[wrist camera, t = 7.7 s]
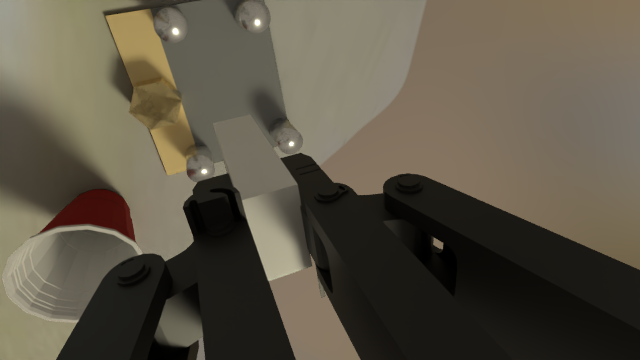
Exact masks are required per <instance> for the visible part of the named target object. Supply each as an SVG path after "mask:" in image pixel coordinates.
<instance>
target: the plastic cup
mask: <svg viewBox="0 0 640 360" xmlns="http://www.w3.org/2000/svg"><path fill="white" fill-rule="evenodd" d="M141 254H143V252H142V251H141V249H140V248H139V247H138V245H137V244H136V241H135V235H134V230H133V224H132V219H131V217H130V209H129V207H128V205H127V203H126V202H125V200H124V198H122V197H121V196H119V195H118V194H117V193H115V192H112V191H109V190H105V189H93V190H90V191H87V192H85V193H82V194H80V195H79V196H78V197H77V198H75V199H74V200H73V201H72V202H71V203H70V204H69V205H68V206H66V207H65V208H64V209H63V210H62V211H61V212H60V213H59V214H58V215H57V216H56V217H55V218H54V219H53V220H52V221H51V222H50V223H49V224H48V225H47V226H46V227H45V228H44V229H43V230H42V231H41V232H39V233H38V234H37V235H34V236H32V237H30V238H29V239H28V240H27V241H26V242H25V243H24V244H23V245H21V246H20V247H19V248H18V249H17V250H16V251H15V252H14V253H12V254H11V255H10V256H9V258H8V261H7V264H6V267H5V269H4V272H3V275H2V280H3V283H4V286H5V290H6V293H7V297H8V298H10V299H11V300H12V301H13V302H14V303H15V304H16V305H17V306H18V307H19V308H21V309H22V310H23V311H24V312H26V313H29V314H31V315H34V316H37V317H39V318H42V319H45V320H47V321H58V322H71V323H77V322H78V321H79V319H80V317H81V315H82V314H83V312H84V310H85V308H86V307H87V305H88V303H89V302H90V300H91V298H92V296H93V295H94V293H95V291H96V289H97V288H98V286H99V284H100V282H101V281H102V279H103V278H104V277H105V275H106V274H107V273H108V272H109V271H110V270H111V269H112V268H114V267H115V266H116V265H118V264H119V263H120V262H122V261H124V260H127V259H128V258H131V257H134V256H138V255H141Z"/></svg>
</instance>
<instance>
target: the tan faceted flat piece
mask: <svg viewBox="0 0 640 360" xmlns="http://www.w3.org/2000/svg"><path fill="white" fill-rule="evenodd" d="M181 103H182V95H181V94H180V93H179V92H178V91H177V90H176V89H175V88H174V87H173V86H172V85H171V84H170V83H169V82H168V81H166V80H165V79H164V78H163V77H159V78H154V79H149V80H144V81H140V82H136V84H135V87H134V91H133V96H132V101H131V106H130V111H129V113H131V114H132V115H133V116H134V117H135V118H137V119H138V120H139V121H140V122H142V123H143V124H144V125H145V126H146V127H148V128H149V129H150V130H153V129H157V128H162V127H166V126H170V125H174V124H177V120H178V115H179V111H180V107H181Z"/></svg>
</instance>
